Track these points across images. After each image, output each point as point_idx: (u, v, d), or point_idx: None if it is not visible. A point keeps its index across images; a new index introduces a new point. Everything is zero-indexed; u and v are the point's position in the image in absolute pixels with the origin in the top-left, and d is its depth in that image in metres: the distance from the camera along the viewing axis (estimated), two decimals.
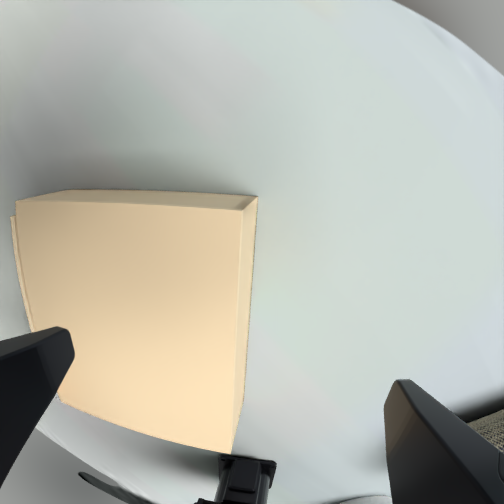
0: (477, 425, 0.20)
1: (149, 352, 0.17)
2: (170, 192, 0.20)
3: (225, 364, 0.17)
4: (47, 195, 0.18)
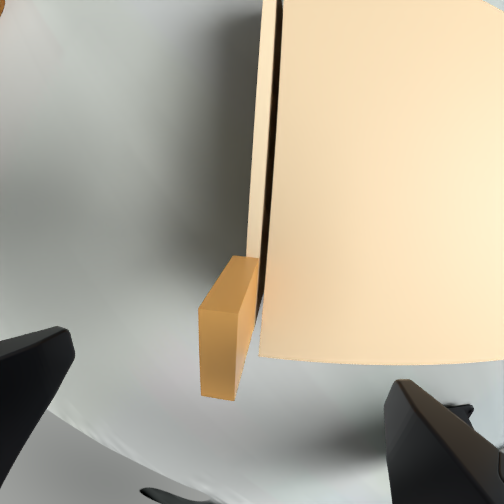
0: None
1: None
2: None
3: None
4: None
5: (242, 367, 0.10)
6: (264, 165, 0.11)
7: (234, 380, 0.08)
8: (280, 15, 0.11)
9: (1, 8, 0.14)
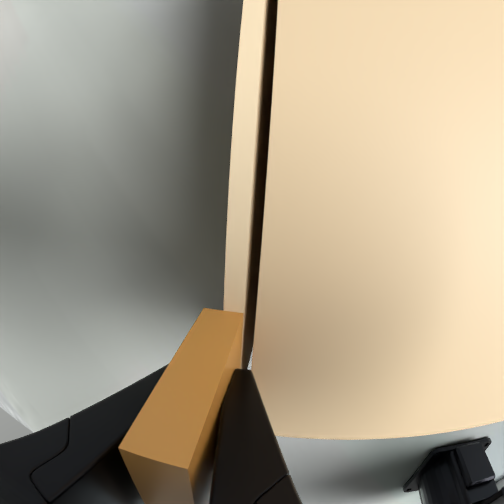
0: None
1: None
2: None
3: None
4: None
5: None
6: (251, 166, 0.06)
7: None
8: None
9: None
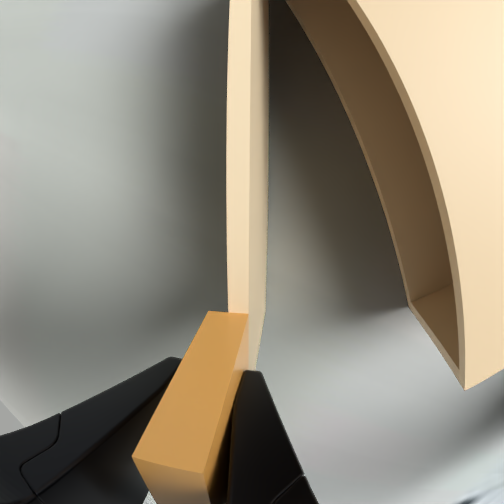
0: None
1: None
2: None
3: None
4: None
5: None
6: (247, 165, 0.06)
7: None
8: None
9: None
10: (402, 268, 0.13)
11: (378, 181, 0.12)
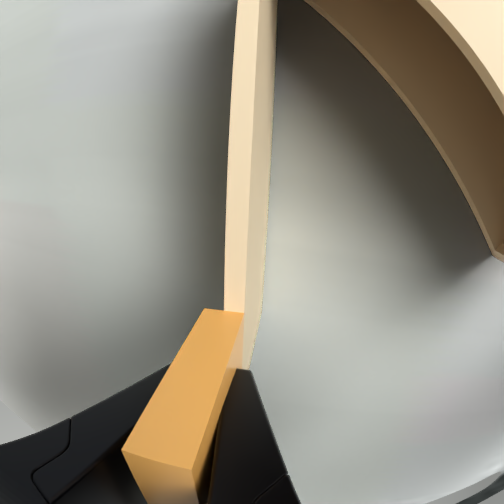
0: None
1: None
2: None
3: None
4: None
5: None
6: (248, 165, 0.06)
7: None
8: None
9: None
10: (481, 221, 0.11)
11: (443, 147, 0.11)
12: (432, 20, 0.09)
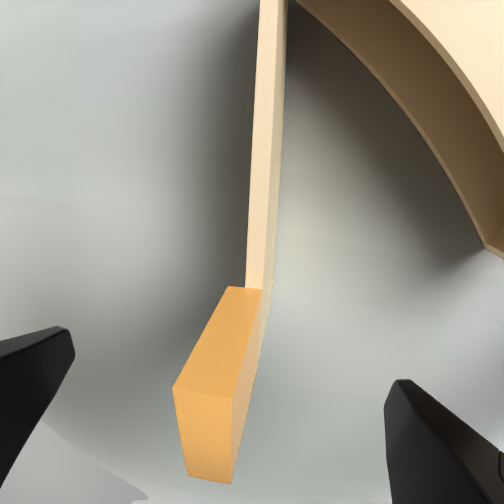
0: None
1: None
2: None
3: None
4: None
5: (241, 435, 0.07)
6: (268, 165, 0.08)
7: (230, 466, 0.05)
8: None
9: None
10: (473, 216, 0.13)
11: (437, 149, 0.12)
12: None
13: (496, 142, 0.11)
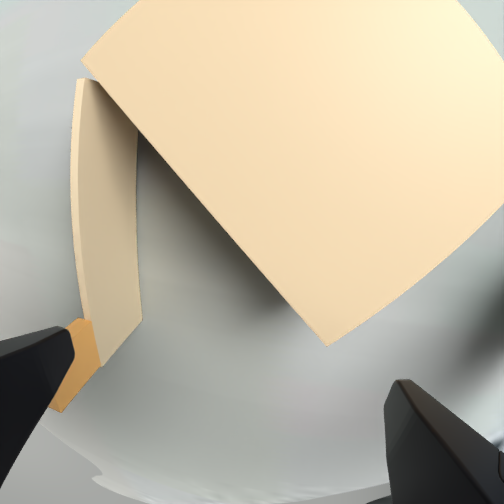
0: None
1: (390, 35, 0.09)
2: None
3: None
4: None
5: (74, 393, 0.12)
6: (81, 260, 0.13)
7: (56, 401, 0.11)
8: (113, 108, 0.14)
9: None
10: None
11: None
12: None
13: None
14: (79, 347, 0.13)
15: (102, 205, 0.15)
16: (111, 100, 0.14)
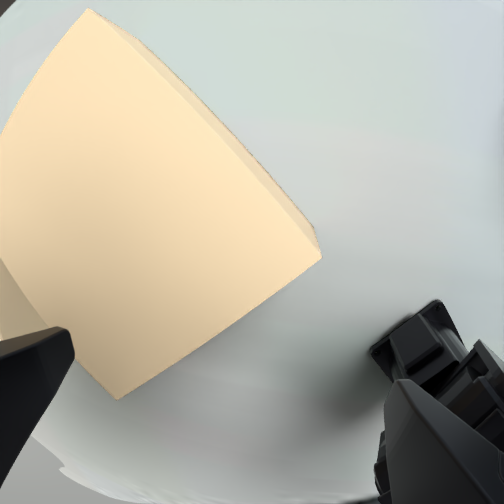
0: None
1: (104, 182, 0.13)
2: None
3: (170, 102, 0.11)
4: None
5: None
6: None
7: None
8: None
9: None
10: None
11: None
12: None
13: None
14: None
15: (8, 290, 0.19)
16: None
